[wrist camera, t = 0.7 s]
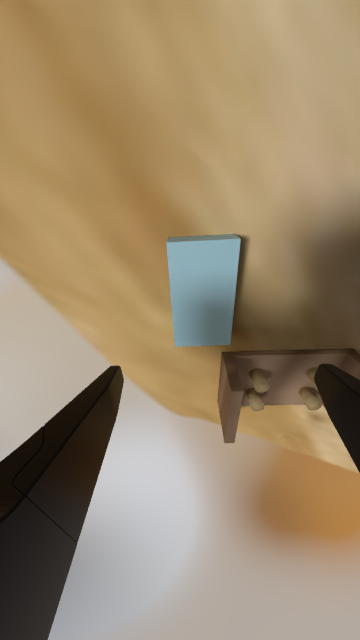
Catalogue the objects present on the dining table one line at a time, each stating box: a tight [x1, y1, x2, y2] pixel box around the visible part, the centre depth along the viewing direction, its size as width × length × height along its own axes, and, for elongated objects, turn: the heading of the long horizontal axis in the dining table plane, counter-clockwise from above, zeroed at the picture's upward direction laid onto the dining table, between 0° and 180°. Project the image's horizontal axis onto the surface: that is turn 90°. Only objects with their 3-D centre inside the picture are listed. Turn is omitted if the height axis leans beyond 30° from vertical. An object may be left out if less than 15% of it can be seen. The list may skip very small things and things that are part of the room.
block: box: [167, 234, 241, 347], centre depth 17 cm, size 9×5×2 cm, turn 3°
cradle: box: [218, 349, 360, 443], centre depth 21 cm, size 14×8×5 cm, turn 92°
